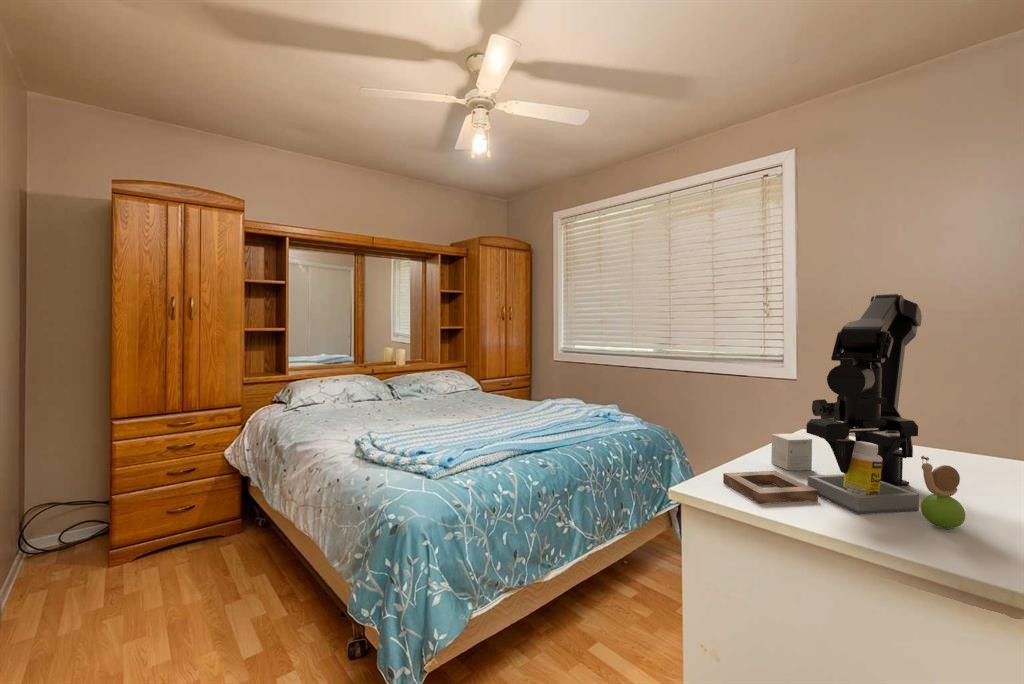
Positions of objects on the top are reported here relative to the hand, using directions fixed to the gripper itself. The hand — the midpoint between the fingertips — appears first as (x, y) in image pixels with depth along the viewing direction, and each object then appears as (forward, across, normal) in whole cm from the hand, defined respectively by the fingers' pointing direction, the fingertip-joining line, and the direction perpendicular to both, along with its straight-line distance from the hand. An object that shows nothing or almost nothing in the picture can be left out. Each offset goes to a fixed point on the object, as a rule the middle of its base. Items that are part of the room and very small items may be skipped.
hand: (860, 472), depth 88 cm
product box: (+6, -2, -21) cm, 22 cm away
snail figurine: (+6, -3, +12) cm, 14 cm away
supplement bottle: (+5, 0, 0) cm, 5 cm away
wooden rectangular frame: (+6, +14, -7) cm, 17 cm away
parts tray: (+6, 0, 0) cm, 6 cm away
